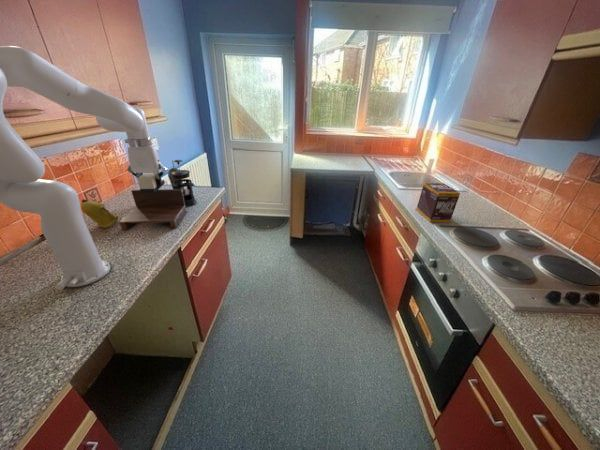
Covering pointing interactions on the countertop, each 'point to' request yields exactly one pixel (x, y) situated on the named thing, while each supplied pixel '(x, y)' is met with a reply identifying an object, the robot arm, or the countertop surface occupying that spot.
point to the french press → (188, 192)
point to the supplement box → (437, 202)
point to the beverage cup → (173, 178)
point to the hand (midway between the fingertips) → (152, 186)
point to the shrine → (98, 213)
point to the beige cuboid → (148, 183)
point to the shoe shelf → (156, 208)
